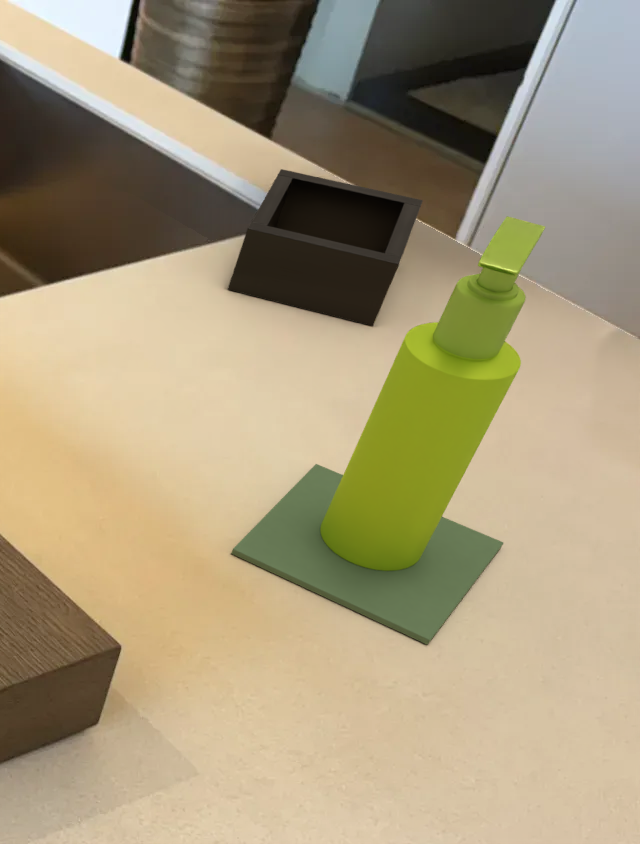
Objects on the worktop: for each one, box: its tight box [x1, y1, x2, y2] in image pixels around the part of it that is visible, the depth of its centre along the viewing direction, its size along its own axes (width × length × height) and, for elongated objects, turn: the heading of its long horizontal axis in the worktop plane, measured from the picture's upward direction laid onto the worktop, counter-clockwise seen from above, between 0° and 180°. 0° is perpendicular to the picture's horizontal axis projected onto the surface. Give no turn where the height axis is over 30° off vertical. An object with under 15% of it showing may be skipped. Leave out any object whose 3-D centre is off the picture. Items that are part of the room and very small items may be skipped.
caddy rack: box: [227, 168, 424, 327], centre depth 105 cm, size 12×11×5 cm
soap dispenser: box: [320, 216, 546, 571], centre depth 75 cm, size 6×7×20 cm
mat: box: [231, 463, 504, 645], centre depth 83 cm, size 12×12×1 cm
